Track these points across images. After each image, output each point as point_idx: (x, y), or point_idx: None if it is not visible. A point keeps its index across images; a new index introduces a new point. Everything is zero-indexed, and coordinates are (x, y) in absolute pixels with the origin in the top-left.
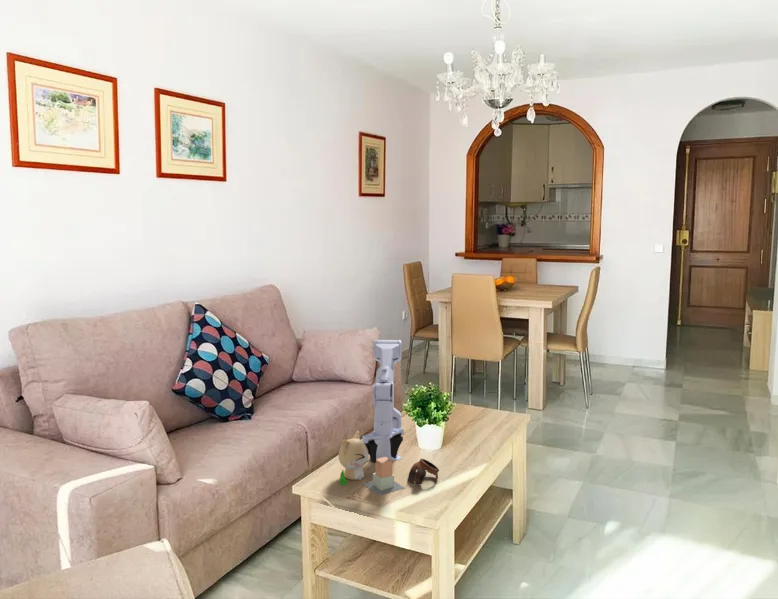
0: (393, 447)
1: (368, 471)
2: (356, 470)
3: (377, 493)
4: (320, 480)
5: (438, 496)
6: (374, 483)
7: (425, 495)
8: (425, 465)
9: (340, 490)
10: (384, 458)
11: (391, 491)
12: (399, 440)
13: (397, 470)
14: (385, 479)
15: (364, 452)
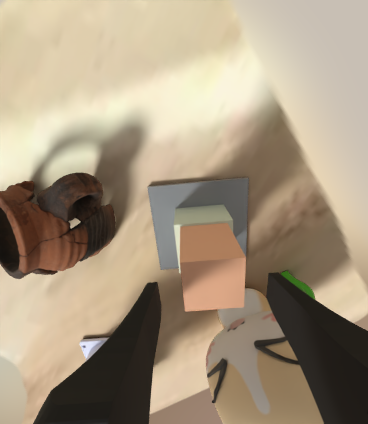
0: (147, 345)
1: (189, 317)
2: (253, 311)
3: (243, 191)
4: None
5: (54, 79)
6: None
7: (99, 112)
8: (21, 218)
9: (311, 257)
10: (202, 298)
11: (197, 184)
12: (91, 395)
13: (117, 296)
14: (211, 218)
15: (256, 367)
